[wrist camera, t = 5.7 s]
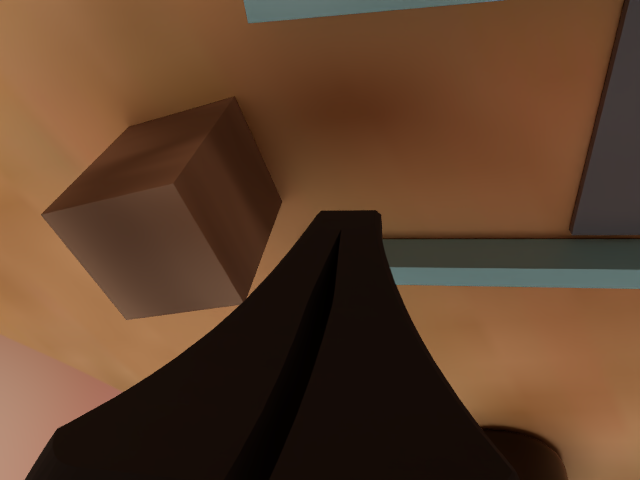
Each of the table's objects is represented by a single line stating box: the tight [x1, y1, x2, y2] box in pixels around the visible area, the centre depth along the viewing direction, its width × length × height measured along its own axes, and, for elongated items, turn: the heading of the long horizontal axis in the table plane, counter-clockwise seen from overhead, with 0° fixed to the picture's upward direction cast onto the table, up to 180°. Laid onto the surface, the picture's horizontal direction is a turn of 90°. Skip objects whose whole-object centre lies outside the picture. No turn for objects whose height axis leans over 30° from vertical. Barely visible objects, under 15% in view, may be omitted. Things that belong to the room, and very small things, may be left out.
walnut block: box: [41, 97, 282, 320], centre depth 15 cm, size 4×4×5 cm
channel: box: [244, 0, 640, 289], centre depth 14 cm, size 12×10×2 cm
